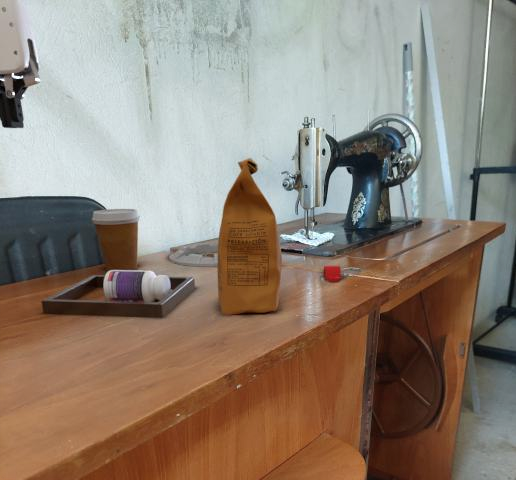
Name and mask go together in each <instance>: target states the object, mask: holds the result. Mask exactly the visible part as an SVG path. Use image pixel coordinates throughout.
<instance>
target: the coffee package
mask: <svg viewBox="0 0 516 480" xmlns="http://www.w3.org/2000/svg"><path fill="white" fill-rule="evenodd" d="M237 165H238V167H239V168H240V172H239V174H238V176H237V177H236V179H235V181H234V182H233V184H232V185H231V188H230V189H229V191H228V193H227V195H226V198H225V200H224V204H223V209H222V215H221V216H222V217H221V222H220V227H219V233H218V240H217V241H218V242H217V246H218V252H217V254H218V266H217V288H218V289H217V294H218V295H217V296H218V304H219V309H220V311H221V313H222V315H223V316H234V315H241V314H250V313H255V314H262V313H263V314H265V313H267V312H276V311H277V310H278V307H279V300H280V295H281V286H282V284H281V283H282V270H283V269H282V268H283V263H282V262H283V260H282V259H283V258H282V249H281V242H280V234H279V227H278V222H277V218H276V215H275V212H274V210H273V208H272V206H271V205H270V203H269V202H268V200H267V198H266V197H265V195H264V194H263V192H262V191H261V189H260V188H259V186H258V185H257V183H256V182H255V180H254V178H253V176H252V175H254V174H256V173H257V172H258V170H259V166H258V164H257V163H256V162H255V160H254V159H253V158H251V157H249V158H246V159H244V160H240V161H238V162H237Z"/></svg>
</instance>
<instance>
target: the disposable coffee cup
mask: <svg viewBox="0 0 516 480" xmlns="http://www.w3.org/2000/svg"><path fill="white" fill-rule="evenodd" d="M140 217H141V216H140V215H139V213H138V210H137V209H135V208H110V209H109V208H107V209H100V210H95V211H93V212H92V218H91V221H92V222H93V224H94V226H95V227H94V228H95V231H96V235H97V238H98V239H97V240H98V242H99V246H100V247H99V248H100V250H101V254H102V258H103V262H104V267H105V270H106V272H108V271H110V270H138V247H139V246H138V245H139V243H138V242H139V240H138V239H139V222H140Z"/></svg>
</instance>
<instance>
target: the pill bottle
mask: <svg viewBox="0 0 516 480" xmlns="http://www.w3.org/2000/svg"><path fill="white" fill-rule="evenodd" d="M104 275H105V278H104V283H103V287H104V288H103V293H104V297H105V299H106V301H125V302H156V300H158V301H160V300H161V299H162V298H164V297H165V296H166V295H167V294H169V293H170V292H171V290H172V289H171V286H170V280H169V277H170V276H168V275H164V274H158V275H156V273H155V272H154V271H152V270H142V269H141V270H140V269H139V270H138V269H136V270H110V271H106V273H105V274H104Z"/></svg>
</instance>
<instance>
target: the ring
mask: <svg viewBox="0 0 516 480" xmlns="http://www.w3.org/2000/svg"><path fill="white" fill-rule="evenodd" d="M203 253H215V254H213V257H203ZM169 262H171V263H173V264H175V265H181V266H186V267H218V245H216V246H215V245H214V246H213V245H212V246H211V243H197V244H196V246H195V247H194V248H193V247H192V248H191V246H190V245H187V246H183V247H181V248H179V249H177V250H175V252H173V253H172V254H170V255H169Z"/></svg>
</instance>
